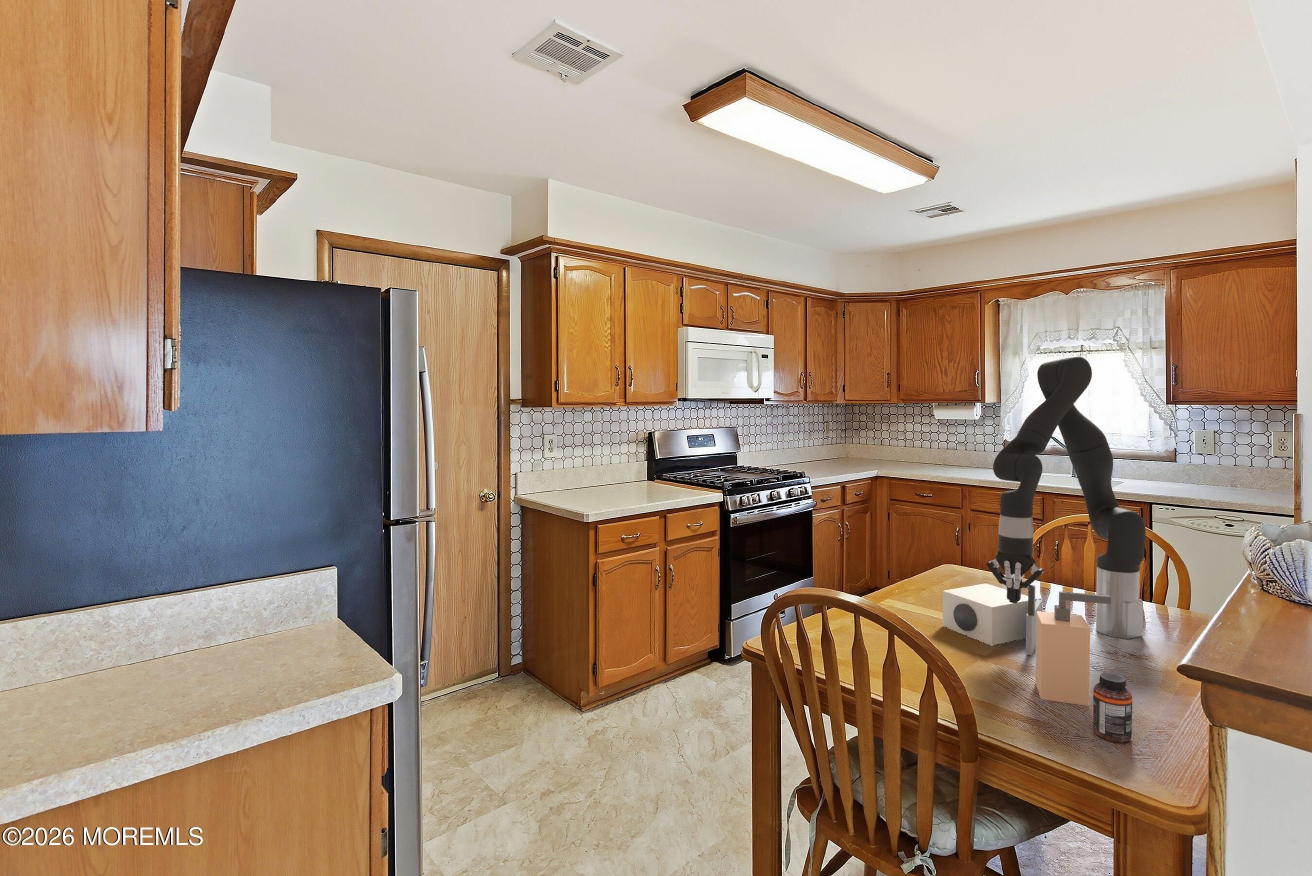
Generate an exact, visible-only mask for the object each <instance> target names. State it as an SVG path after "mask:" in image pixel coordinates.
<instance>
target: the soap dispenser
mask: <svg viewBox="0 0 1312 876" xmlns="http://www.w3.org/2000/svg"><path fill="white" fill-rule="evenodd" d="M1067 601H1069V602H1080V603H1092V604H1096V603H1101V604H1111V597H1110V596H1107V595H1096V594H1095V593H1082V592H1081V593H1080V592H1072V591H1071V592H1070V591H1069V592H1068V591H1058V605H1057V604H1055V605H1054V607H1053V608H1054V609H1053V610H1054V612H1051V611H1042V612H1041V611H1036V648H1035V675H1034V676H1035V681H1034V682H1035V686H1036V690H1037V693H1038V694H1039V698H1040V700H1041V701H1042V700H1043V701H1048V702H1049V701H1050V702H1056V703H1057V702H1058V703H1063V704H1064V703H1065V704H1071V705H1078V706H1079V705H1080V706H1084V707H1085V706H1087V707H1089V706H1090V671H1091V670H1090V669H1091V666H1090V665H1091V663H1090V660H1091V627H1090V626H1089V624H1088V623H1087V621H1086V620H1085V619H1084V617H1083V614H1071V609H1070V607H1069V606H1067Z"/></svg>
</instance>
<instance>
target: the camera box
mask: <svg viewBox="0 0 1312 876" xmlns="http://www.w3.org/2000/svg"><path fill="white" fill-rule="evenodd" d="M1037 599H1038V598H1036V597H1035V602H1036V600H1037ZM1027 614H1028V595H1026V594H1022V593H1021V599H1020V601H1018V602H1017V603H1011V602H1009V600H1008V599H1007V588H1006V589H1005V588H1002V587H1000V586H999V587H998V586H995V585H992V584H989V583H987V582H986V583H981V584H975V585H970V586H969V585H968V586H963V587H956V588H951V589H945V590H942V627H943V628H946V627H947V628H946V629H948V630H951V631H954V632H956V633H959V634H962V635H964V636H966V635H967V636H966V637H968V638H970V639H974V640H976V639H977V641H978V640H979V642H981V643H983V642H984V644H986V645H988V646H991V647H993V646H996V645H997V644H998V645H1002V644H1006V643H1005V642H1007V643H1010V642H1009V641H1012V642H1014V641H1013V640H1016V641H1019V640H1018V639H1021V640H1024V639H1023V638H1025V639H1026V615H1027ZM1001 643H1002V644H1001ZM998 645H997V646H998Z"/></svg>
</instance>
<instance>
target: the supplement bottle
mask: <svg viewBox="0 0 1312 876" xmlns="http://www.w3.org/2000/svg"><path fill="white" fill-rule="evenodd" d="M1092 693H1093V695H1092V697H1093V699H1092V700H1093V701H1092V702H1093V703H1092V707H1093V708H1092V729H1093V732H1094V734H1095V735H1097V736H1099V737H1100V738H1101V739H1103V740H1105V741H1109V742H1113V743H1119V744H1121V743H1127V742H1130V741H1131V740H1132V734H1133V694H1132V692H1131V690H1129V689H1128V688H1127V680H1126V678H1125V676H1123V675H1120V674H1117V673H1112V672H1101V673H1100V674H1099V682H1098V683H1096V684H1095V685H1094V686H1093V689H1092Z"/></svg>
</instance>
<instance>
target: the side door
mask: <svg viewBox="0 0 1312 876" xmlns="http://www.w3.org/2000/svg"><path fill="white" fill-rule="evenodd" d="M1027 589H1028V593H1027V596H1028V614H1027V615H1026V638H1025V655H1029V656H1032V655H1033V654H1034V653H1035V651H1036V611H1041V612H1043V601H1044V599H1042V598H1036V585H1034V584H1030V585H1029V586H1028V587H1027ZM1035 598H1036V599H1037V600H1036V602H1035Z"/></svg>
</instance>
